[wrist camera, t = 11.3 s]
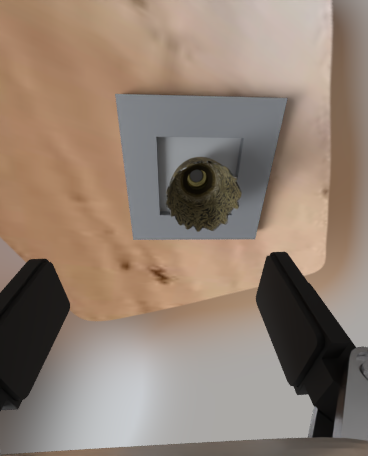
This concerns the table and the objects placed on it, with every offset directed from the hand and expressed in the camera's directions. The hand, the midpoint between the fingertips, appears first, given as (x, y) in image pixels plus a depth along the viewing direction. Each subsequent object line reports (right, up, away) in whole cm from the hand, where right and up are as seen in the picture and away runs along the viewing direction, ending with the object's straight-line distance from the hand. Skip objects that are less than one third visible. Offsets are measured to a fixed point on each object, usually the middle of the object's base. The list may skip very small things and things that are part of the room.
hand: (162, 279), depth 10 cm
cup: (+3, +9, +18) cm, 21 cm away
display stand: (+3, +10, +19) cm, 22 cm away
